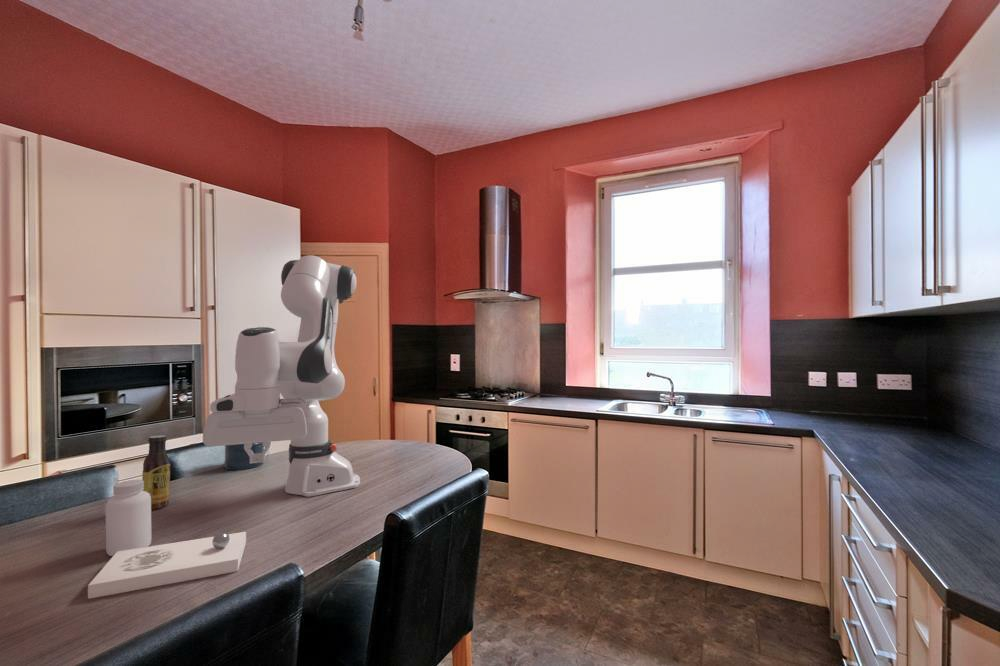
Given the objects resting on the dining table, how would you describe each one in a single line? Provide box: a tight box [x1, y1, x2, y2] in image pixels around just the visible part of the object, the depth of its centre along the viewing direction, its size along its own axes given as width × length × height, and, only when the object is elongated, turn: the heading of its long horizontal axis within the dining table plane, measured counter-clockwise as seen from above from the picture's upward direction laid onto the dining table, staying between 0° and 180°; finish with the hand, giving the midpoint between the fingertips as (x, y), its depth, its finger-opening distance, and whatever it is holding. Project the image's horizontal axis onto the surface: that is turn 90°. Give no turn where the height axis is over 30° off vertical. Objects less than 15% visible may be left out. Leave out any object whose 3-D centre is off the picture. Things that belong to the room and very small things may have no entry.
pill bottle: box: [105, 479, 152, 557], centre depth 102 cm, size 8×8×15 cm
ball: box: [212, 532, 230, 549], centre depth 97 cm, size 3×3×3 cm
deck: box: [87, 531, 247, 600], centre depth 94 cm, size 24×14×2 cm, turn 114°
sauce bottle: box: [141, 434, 171, 511], centre depth 127 cm, size 7×6×20 cm
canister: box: [223, 442, 265, 471], centre depth 167 cm, size 13×13×18 cm
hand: (257, 462), depth 100 cm, fingers closed
